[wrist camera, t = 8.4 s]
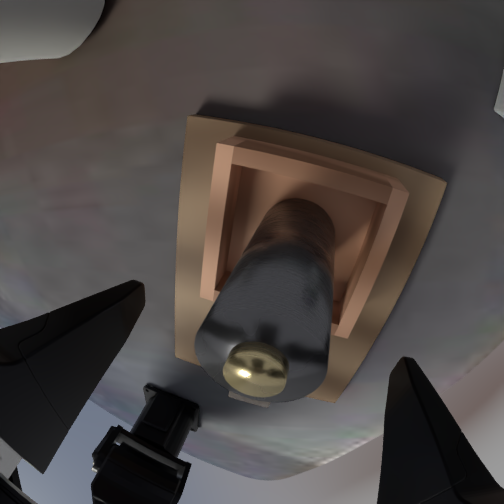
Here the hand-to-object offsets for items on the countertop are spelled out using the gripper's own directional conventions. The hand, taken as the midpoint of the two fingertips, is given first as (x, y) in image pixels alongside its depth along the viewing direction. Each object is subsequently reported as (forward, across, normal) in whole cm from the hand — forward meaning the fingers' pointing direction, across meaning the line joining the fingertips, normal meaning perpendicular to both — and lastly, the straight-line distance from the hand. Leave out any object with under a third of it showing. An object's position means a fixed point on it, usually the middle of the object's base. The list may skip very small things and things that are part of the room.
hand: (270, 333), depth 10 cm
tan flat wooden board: (+9, 0, +5) cm, 10 cm away
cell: (+8, 0, 0) cm, 8 cm away
